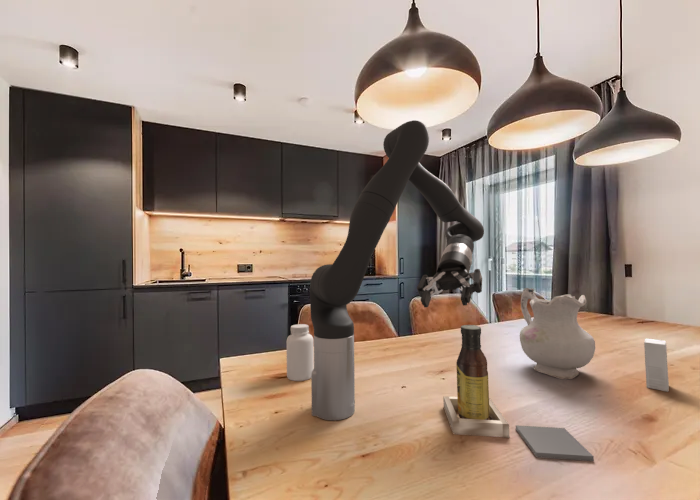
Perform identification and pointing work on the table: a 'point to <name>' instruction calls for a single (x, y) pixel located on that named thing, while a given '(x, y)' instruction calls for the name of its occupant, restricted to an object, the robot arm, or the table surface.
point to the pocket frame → (476, 421)
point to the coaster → (553, 443)
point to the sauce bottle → (472, 376)
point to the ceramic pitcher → (555, 335)
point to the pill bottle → (300, 353)
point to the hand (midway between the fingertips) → (443, 303)
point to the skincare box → (656, 364)
